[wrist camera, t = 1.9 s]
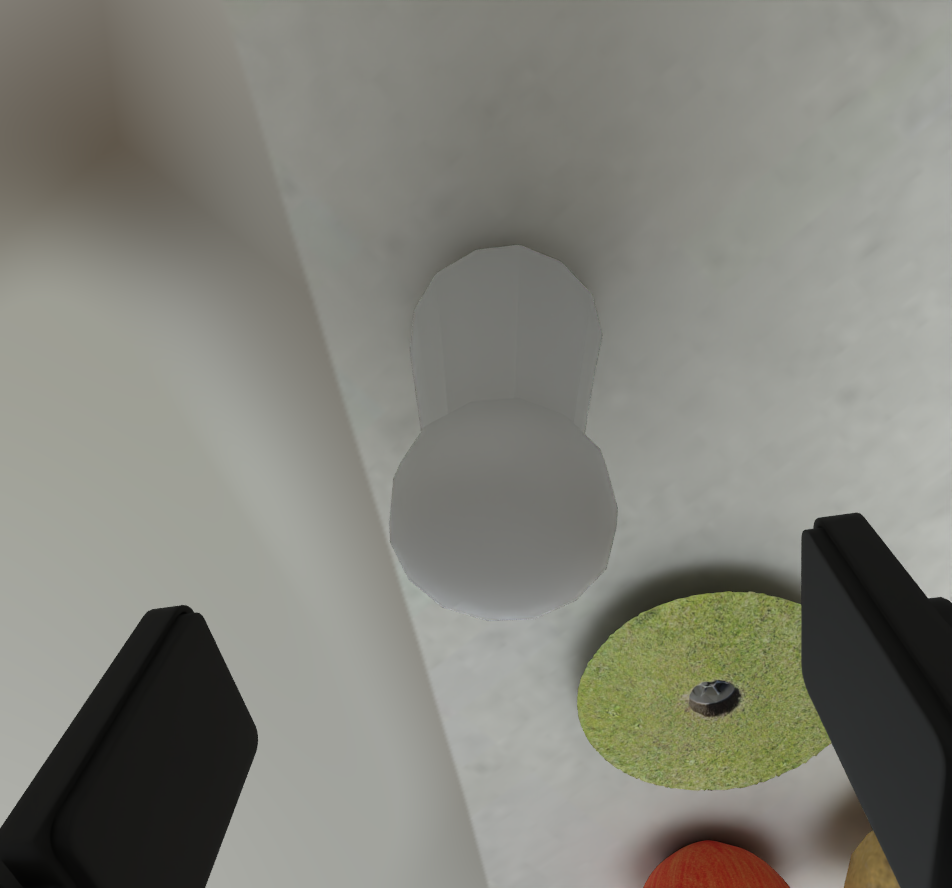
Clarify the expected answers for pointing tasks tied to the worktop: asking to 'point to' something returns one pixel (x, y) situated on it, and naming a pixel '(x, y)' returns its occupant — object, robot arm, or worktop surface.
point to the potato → (870, 866)
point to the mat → (703, 693)
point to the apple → (714, 869)
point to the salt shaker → (504, 440)
